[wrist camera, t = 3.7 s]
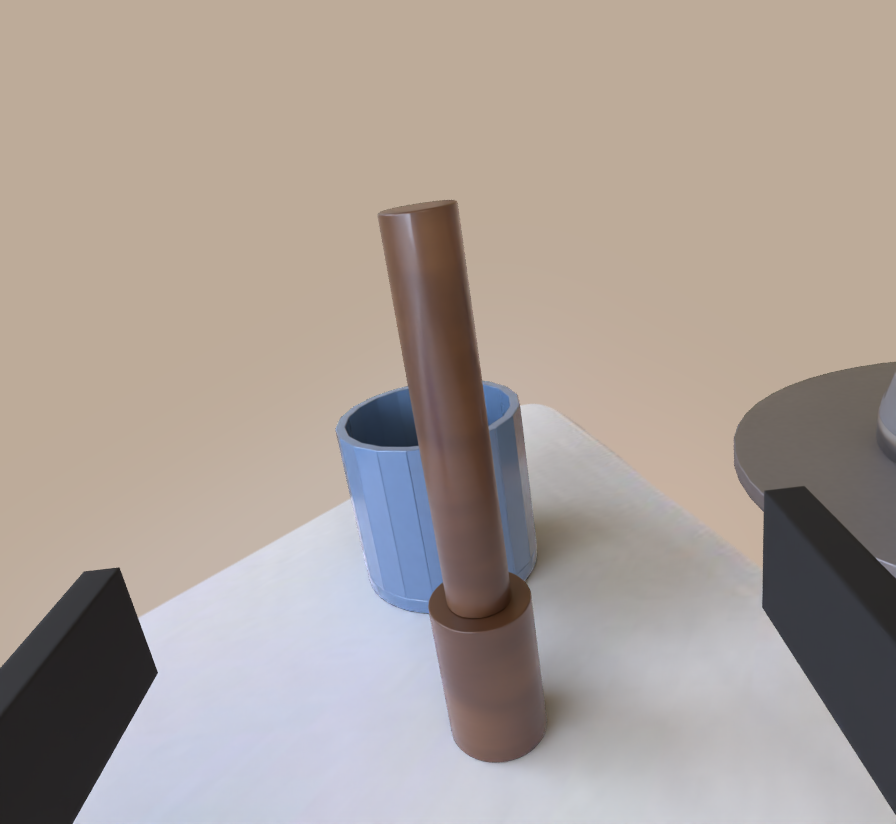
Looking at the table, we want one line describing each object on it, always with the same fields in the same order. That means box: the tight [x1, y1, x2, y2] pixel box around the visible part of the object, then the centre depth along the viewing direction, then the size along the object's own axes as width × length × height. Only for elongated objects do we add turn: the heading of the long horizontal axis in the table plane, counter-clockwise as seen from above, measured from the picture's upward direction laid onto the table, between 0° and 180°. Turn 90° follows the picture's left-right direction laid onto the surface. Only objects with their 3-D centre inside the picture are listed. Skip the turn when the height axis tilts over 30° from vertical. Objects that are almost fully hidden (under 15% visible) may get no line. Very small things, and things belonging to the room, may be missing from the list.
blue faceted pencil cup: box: [336, 381, 537, 613], centre depth 38 cm, size 9×9×9 cm
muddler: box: [378, 200, 547, 762], centre depth 25 cm, size 4×4×20 cm
